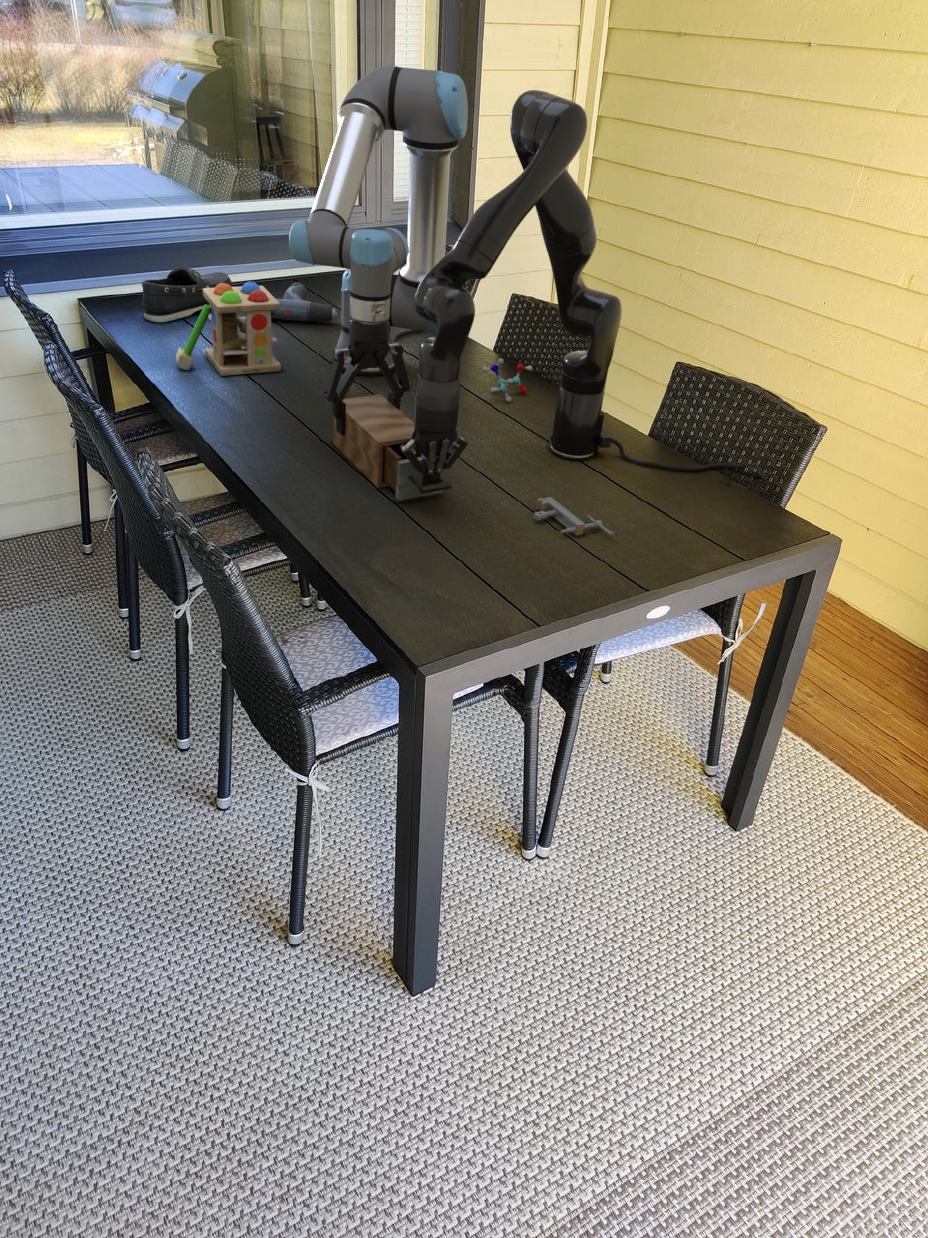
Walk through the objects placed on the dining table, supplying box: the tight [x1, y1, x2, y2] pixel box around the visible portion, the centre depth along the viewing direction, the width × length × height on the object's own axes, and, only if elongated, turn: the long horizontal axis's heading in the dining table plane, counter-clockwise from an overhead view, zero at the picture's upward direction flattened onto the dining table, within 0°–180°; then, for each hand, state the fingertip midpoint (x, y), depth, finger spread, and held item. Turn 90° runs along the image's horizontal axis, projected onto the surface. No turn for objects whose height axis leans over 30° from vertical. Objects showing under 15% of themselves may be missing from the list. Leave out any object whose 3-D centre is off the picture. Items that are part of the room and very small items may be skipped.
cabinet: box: [332, 393, 415, 489], centre depth 192 cm, size 21×10×9 cm, turn 30°
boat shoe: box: [141, 266, 234, 323], centre depth 261 cm, size 13×33×10 cm, turn 147°
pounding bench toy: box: [174, 281, 282, 377], centre depth 225 cm, size 23×14×18 cm, turn 116°
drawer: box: [382, 442, 453, 501], centre depth 184 cm, size 26×9×7 cm, turn 30°
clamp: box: [533, 496, 615, 537], centre depth 178 cm, size 15×2×10 cm
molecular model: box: [482, 358, 533, 403], centre depth 227 cm, size 12×10×10 cm
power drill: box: [271, 282, 338, 322], centre depth 265 cm, size 5×19×20 cm
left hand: (366, 428), depth 196 cm, fingers closed on cabinet, 10 cm apart
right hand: (430, 490), depth 178 cm, fingers closed
